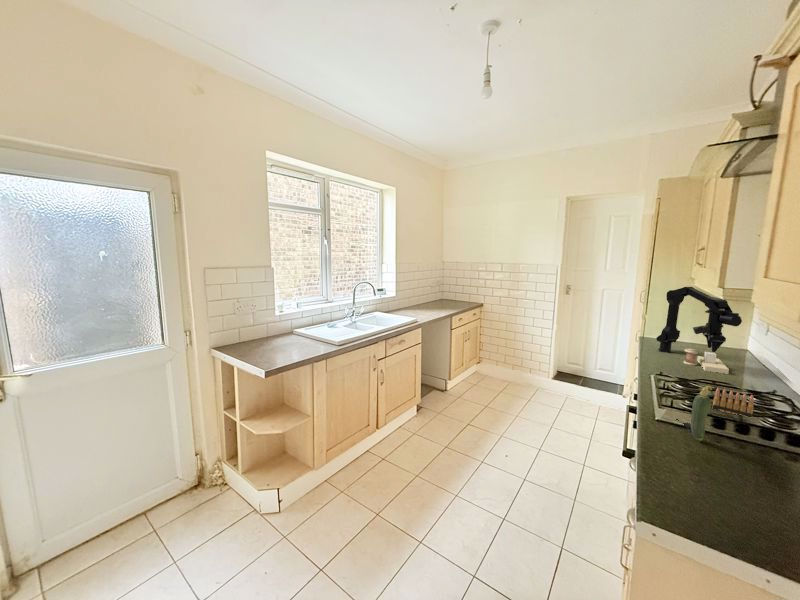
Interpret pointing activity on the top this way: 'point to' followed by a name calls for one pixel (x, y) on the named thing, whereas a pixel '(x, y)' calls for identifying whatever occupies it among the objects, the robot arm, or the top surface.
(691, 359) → the bobbin
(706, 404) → the vegetable
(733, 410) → the ammunition clip
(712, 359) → the block
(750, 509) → the top surface
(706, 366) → the notched board
